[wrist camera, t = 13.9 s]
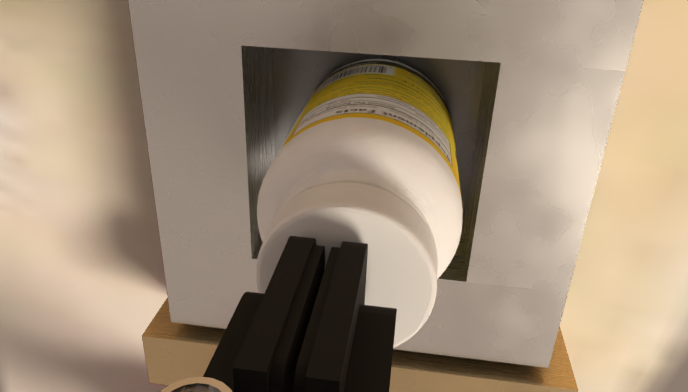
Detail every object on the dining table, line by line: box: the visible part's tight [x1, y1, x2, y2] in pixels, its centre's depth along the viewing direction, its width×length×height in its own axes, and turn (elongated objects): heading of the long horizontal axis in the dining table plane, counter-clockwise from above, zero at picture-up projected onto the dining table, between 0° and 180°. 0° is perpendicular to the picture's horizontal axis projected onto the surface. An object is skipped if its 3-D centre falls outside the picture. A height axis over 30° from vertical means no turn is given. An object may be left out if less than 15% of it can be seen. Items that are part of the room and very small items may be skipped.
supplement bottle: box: [256, 59, 463, 348], centre depth 17 cm, size 5×5×10 cm
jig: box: [128, 0, 644, 392], centre depth 20 cm, size 20×16×5 cm
